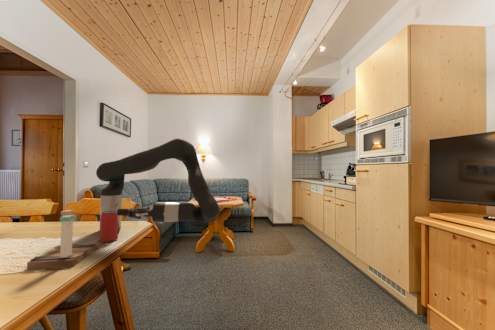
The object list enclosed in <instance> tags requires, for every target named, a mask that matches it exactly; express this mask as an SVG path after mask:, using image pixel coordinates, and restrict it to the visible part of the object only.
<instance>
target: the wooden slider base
mask: <svg viewBox="0 0 495 330" xmlns="http://www.w3.org/2000/svg"><path fill="white" fill-rule="evenodd" d="M60 247H61V244H59V245H57V246H55V247H54V248H52V249H50V250H49V251H47V252H44V253H43V254H41V255H38V256H35V257H33V258H31V259H30V261H28V262H27V264H26V270H27V271H28V270H40V269H56V268H73V267H75V266H76V265H78V263H80V262H82V261H83V260H85V258H87V257H88V256H90V255H91V254H92V253H93V252H95V251H96V250H97V249H98V248H99V243H98V242H92V243H72V254H71V255H70V256H68V257H63V258H60Z"/></svg>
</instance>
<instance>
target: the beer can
mask: <svg viewBox="0 0 495 330" xmlns="http://www.w3.org/2000/svg"><path fill="white" fill-rule="evenodd" d="M118 235H119V234H118V215H117V211H104V212H102V214H101V217H100V216H99V242H102V243H109V242H114V241H116V240H118V238H119V236H118Z"/></svg>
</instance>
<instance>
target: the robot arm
mask: <svg viewBox="0 0 495 330" xmlns="http://www.w3.org/2000/svg"><path fill="white" fill-rule="evenodd" d="M169 159H170V160H171V159H175V160H177V161H180V162H182V164H183V165H184V166H185V169H186V170H187V182H188V188H189V190H190V191H191V194H192V196H193V197H192V198H193V199H194V200H195V201H196V202H197V204H198V206H197V205H194V204H193V203H191V202H174V201H162V202H161V201H155V202H154V203H153V205H152V207H150V205H149V206H148V205H145V206H135V207H130V208H122V207H123V206H122V204H123V203H122V198H123V196H122V195H123V191H124V186H125V176H126V175H131V174H132V175H133V174H139V173H144V172H149V171H150V170H153V169H155V168H156V167H157V166H158V165H159V164H160V163H161V162H163V161H166V160H169ZM95 174H96V177H97V178H98V179H99V180H100V181H102V182H108V185H107V186H106V187H104V188H102V189H100V190H101V191H100V207H99V209H100V210H99V218H100V217H101V214H102V212H104V211H114V210H116V211H117V215H118V222H119V227H120V230H121V229H122V216H127V217H128V218H133V219H137V220H138V219H148V218H149V217H151V220H152V222H153V223H173V222H192V223H193V222H194V223H199V224H211V223H214V222H215V221H216V220H217V219H218V217H219V213H220V206H219V204H218V202H217V200H216V198H215V196H214V195H213V194H212V193H211V190H210V188H209V186H208V184H207V183H208V182H207V181H206V179H205V177H204V175H203V172H202V170H201V167H200V163H199V159H198V156H197V152H196V149H195V147H194V145H193V144H192V143H191V142H188V141H187V140H185V139H184V138H180V137H178V138H174V139H171V140H170V141H168V142H165V143H163V144H160V145H158V146H155V147H153V148H150V149H147V150H143V151H141V152H140V151H139V152H137V153H134V154H131V155H129V156H126V157H124V158H121V159H119V160H118V159H117V160H113V161H108V162H104V163H102V164H100V165H99V166H98V167H97V169H96V172H95ZM117 203H118V204H119V205H118V204H117ZM115 204H117V206H116V209H115Z"/></svg>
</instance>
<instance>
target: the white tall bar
mask: <svg viewBox="0 0 495 330" xmlns="http://www.w3.org/2000/svg"><path fill="white" fill-rule="evenodd" d="M74 213H75V209H65V210H62V211H60V216H61V217H63V216H66V215H74Z"/></svg>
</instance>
